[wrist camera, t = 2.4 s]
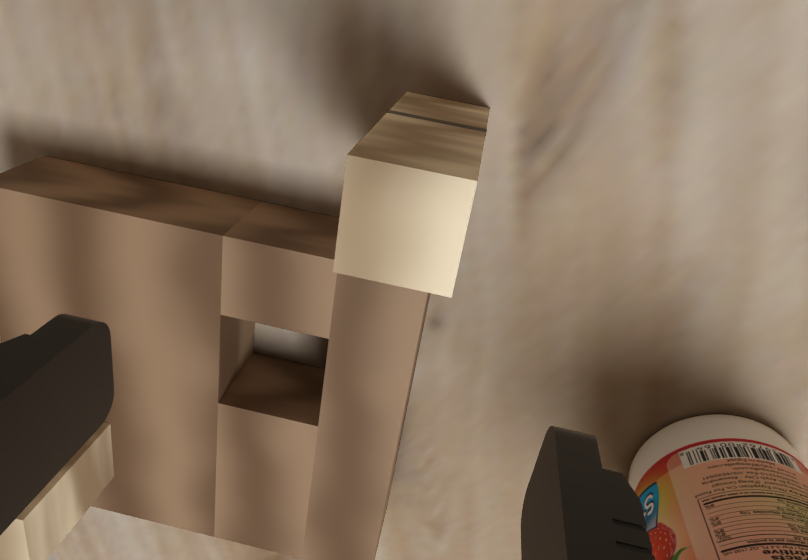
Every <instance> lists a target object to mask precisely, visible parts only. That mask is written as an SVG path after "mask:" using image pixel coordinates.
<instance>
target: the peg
mask: <svg viewBox="0 0 808 560" xmlns="http://www.w3.org/2000/svg"><path fill="white" fill-rule="evenodd" d="M489 110H490V108H488V107H483V106H478V105H473V104H468V103H462V102H457V101H452V100H447V99H442V98H437V97H432V96H426V95H421V94H416V93H411V92H406V93H405V94H404V95H403V96H402V97H401V98H400V99H399V100H398V101H397V103H396V104H395V105H394V106H393V107H392V108H391V109H390V110H388V111H387V112H386V114H385V115H384V116H383V117H382V118H381V119H380V120H379V121H378V123H377V124H376V125H375V126H374V127H373V128H372V129H371V130H370V131H369V132H368V133H367V134H366V135H365V136H364V137H363V138H362V139H361V140H360V141H359V143H358V144H357V145H356V146H355V147H354V148H353V149H352V150H351V151H350V152H349V153H348V154H347V159H346V167H345V175H344V184H343V192H342V200H341V209H340V217H339V225H338V234H337V242H336V250H335V259H334V267H333V272H335V273H340V274H344V275H349V276H353V277H358V278H363V279H367V280H372V281H377V282H381V283H386V284H390V285H395V286H400V287H404V288H409V289H414V290H418V291H423V292H427V293H432V294H437V295H441V296H446V297H451V298H452V293H453V289H454V284H455V280H456V275H457V271H458V266H459V262H460V257H461V253H462V248H463V244H464V239H465V235H466V230H467V226H468V221H469V217H470V212H471V208H472V203H473V199H474V194H475V190H476V185H477V181H478V175H479V169H480V163H481V157H482V152H483V146H484V140H485V136H486V131H487V129H486V128H487V122H488V116H489Z"/></svg>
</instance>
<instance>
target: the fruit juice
mask: <svg viewBox="0 0 808 560" xmlns="http://www.w3.org/2000/svg"><path fill="white" fill-rule="evenodd" d="M628 483H629V484H630V486H631V487H632V489H633V490H634V491H635V493H636V494H637V496H638V497H639V499H640V501H641V505H642V509H643V513H644V517H645V521H646V525H647V528H646V532H648V533H649V537H650V541H651V545H652V549H653V550H652V555H654V557H655V560H808V469H807V467H806V465H805V464H804V462H803V460H802V459H801V457H800V456H799V454H798V453H797V452H796V451H795V450H794V449H793V447H792V446H791V445H790V444H789V443H788V442H787V441H786V440H785V439H784V438H783V437H782V436H780V435H779V434H778V433H777V432H775V431H774V430H772V429H771V428H769V427H767V426H765V425H763V424H761V423H759V422H756V421H754V420H751V419H748V418H744V417H740V416H734V415H723V414H712V415H701V416H695V417H691V418H687V419H683V420H680V421H678V422H675V423H673V424H670V425H668V426H666V427H665V428H663V429H661V430H660V431H658V432H657V433H655V434H654V435H653V436H651V437H650V438H649V439H648V440H647V441H646V442H645V443H644V444H643V445H642V446H641V448H640V449H639V450H638V452H637V454H636V455H635V457H634V459H633V462H632V464H631V468H630V472H629V479H628Z"/></svg>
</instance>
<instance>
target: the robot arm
mask: <svg viewBox="0 0 808 560" xmlns="http://www.w3.org/2000/svg"><path fill="white" fill-rule="evenodd" d="M113 398H114V379H113V363H112V347H111V334H110V329H109V327H108V325H107V324H106V323H104V322H100V321H95V320H91V319H86V318H82V317H78V316H73V315H69V314H59V315H57V316H55V317H54V318H52V319H51V320H50V321H48V322H47V323H46V324H44V325H43V326H42V327H40V328H39V329H38V330H36V331H35V332H34V333H32V334H31V335H29V334H23V335H20V336H18V337H15V338H13V339H10V340H8V341H5V342H3V343H0V535H1V534H2V533H3V532H4V531H5V530H6V529H7V528H8V527H9V526H10V524H11V523H12V522H13V521H14V520H15V519H16V518H17V517H18V516H19V515H20V514H21V512H22V511H23V510H24V509H25V508H26V507H27V506H28V505H29V504H30V503H31V502H32V500H33V499H34V498H35V497H36V496H37V495H38V494H39V493H40V492H41V491H42V490H43V489H44V487H45V486H46V485H47V484H48V483H49V482H50V481H51V480H52V479H53V478H54V477H55V475H56V474H57V473H58V472H59V471H60V470H61V469H62V468H63V467H64V466H65V465H66V463H67V462H68V461H69V460H70V459H71V458H72V457H73V456H74V455H75V454H76V453H77V451H78V450H79V449H80V448H81V447H82V446H83V445H84V444H85V443H86V442H87V441H88V439H89V438H90V437H91V436H92V435H93V434H94V433H95V432H96V431H97V430H98V429H99V427H100V426H101V425H102V424H103V423H104V421H105V420H106V418H107V416H108V414H109V412H110V409H111V406H112V403H113ZM646 528H647V525H646V521H645V517H644V513H643V509H642V505H641V501H640V499H639V497H638V496H637V494H636V493H635V491H634V490H633V489H632V487H631V486H630V484H629V483H628V481H627V480H626V479H625V477H624V476H623V474H622V473H619V472H615V471H610V470H606V469H602V465H601V460H600V455H599V449H598V444H597V440H596V438H595V436H593V435H589V434H585V433H581V432H576V431H572V430H567V429H563V428H559V427H554V426H550V427H549V429H548V430H547V433H546V435H545V438H544V441H543V444H542V447H541V450H540V452H539V455H538V458H537V461H536V464H535V467H534V470H533V473H532V476H531V479H530V482H529V484H528V487H527V491H526V494H525V498H524V503H523V509H522V518H521V553H522V560H655V557H654V555H652V550H653V549H652V545H651V541H650V537H649V533H648V532H646Z"/></svg>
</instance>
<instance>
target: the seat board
mask: <svg viewBox="0 0 808 560" xmlns="http://www.w3.org/2000/svg"><path fill="white" fill-rule="evenodd" d="M338 225H339V218H338V217H334V216H329V215H324V214H319V213H314V212H310V211H305V210H300V209H295V208H291V207H286V206H281V205H276V204H272V203H267V202H262V201H257V200H253V199H248V198H243V197H238V196H233V195H229V194H224V193H219V192H214V191H210V190H205V189H200V188H195V187H191V186H186V185H181V184H176V183H172V182H167V181H162V180H157V179H152V178H148V177H143V176H138V175H133V174H129V173H124V172H119V171H114V170H110V169H105V168H100V167H95V166H90V165H86V164H81V163H76V162H71V161H67V160H62V159H57V158H52V157H48V156H45V157H42V158H40V159H37V160H35V161H32V162H29V163H27V164H24V165H21V166H19V167H16V168H13V169H11V170H8V171H5V172H3V173H0V337H1V343H3V342H5V341H8V340H10V339H13V338H15V337H18V336H20V335H23V334H29V335H31V334H32V333H34V332H35V331H36V330H38V329H39V328H40V327H42V326H43V325H44V324H46V323H47V322H48V321H50V320H51V319H52V318H54V317H55V316H57V315H59V314H69V315H73V316H78V317H82V318H86V319H91V320H95V321H100V322H104V323H106V324H107V325H108V327H109V329H110V334H111V347H112V363H113V379H114V398H113V403H112V406H111V409H110V412H109V414H108V416H107V418H106V420H105V421H104V423H103V424H102V425H101V426H100V427H99V429H98V430H97V431H96V432H95V433H94V434H93V435H92V436H91V437H90V438H89V439H88V441H87V442H86V443H85V444H84V445H83V446H82V447H81V448H80V449H79V450H78V451H77V453H76V454H75V455H74V456H73V457H72V458H71V459H70V460H69V461H68V462H67V463H66V465H65V466H64V467H63V468H62V469H61V470H60V471H59V472H58V473H57V474H56V475H55V477H54V478H53V479H52V480H51V481H50V482H49V483H48V484H47V485H46V486H45V487H44V489H43V490H42V491H41V492H40V493H39V494H38V495H37V496H36V497H35V498H34V499H33V500H32V502H31V503H30V504H29V505H28V506H27V507H26V508H25V509H24V510H23V511H22V512H21V514H20V515H19V516H18V517H17V518H16V519H15V520H14V521H13V522H12V523H11V524H10V526H9V527H8V528H7V529H6V530H5V531H4V532H3V533H2V534H1V535H0V560H47V559H48V558H49V557H50V556H51V554H52V553H53V552H54V551H55V549H56V548H57V547H58V546H59V544H60V543H61V542H62V541H63V539H64V538H65V537H66V536H67V535H68V533H69V532H70V531H71V530H72V528H73V527H74V526H75V525H76V523H77V522H78V521H79V520H80V518H81V517H82V516H83V515H84V513H85V512H86V511H87V510H88V508H89V507H90V506H93V507H97V508H101V509H105V510H109V511H113V512H117V513H121V514H125V515H129V516H133V517H137V518H141V519H145V520H149V521H153V522H157V523H161V524H165V525H169V526H173V527H177V528H181V529H185V530H189V531H193V532H197V533H201V534H205V535H209V536H213V537H217V538H221V539H225V540H229V541H233V542H237V543H241V544H245V545H249V546H253V547H257V548H261V549H266V550H270V551H274V552H278V553H282V554H286V555H290V556H294V557H298V558H302V559H306V560H375V556H376V551H377V547H378V543H379V539H380V534H381V530H382V526H383V522H384V518H385V513H386V509H387V504H388V499H389V494H390V489H391V484H392V479H393V474H394V469H395V464H396V460H397V455H398V450H399V445H400V440H401V435H402V430H403V425H404V420H405V415H406V410H407V406H408V401H409V396H410V391H411V386H412V381H413V376H414V371H415V366H416V361H417V356H418V352H419V347H420V342H421V337H422V332H423V327H424V322H425V317H426V312H427V307H428V302H429V298H430V293H427V292H423V291H418V290H414V289H409V288H404V287H400V286H395V285H390V284H386V283H381V282H377V281H372V280H367V279H363V278H358V277H353V276H349V275H344V274H340V273H335V272H333V267H334V259H335V250H336V242H337V234H338ZM255 323H260V324H264V325H269V326H273V327H278V328H282V329H287V330H291V331H296V332H300V333H305V334H309V335H314V336H318V337H322V338H327V339H329V342H328V351H327V359H326V367H325V369H322V368H317V367H313V366H309V365H304V364H300V363H295V362H291V361H287V360H282V359H278V358H273V357H269V356H265V355H260V354H256V353H253V344H254V326H255Z"/></svg>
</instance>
